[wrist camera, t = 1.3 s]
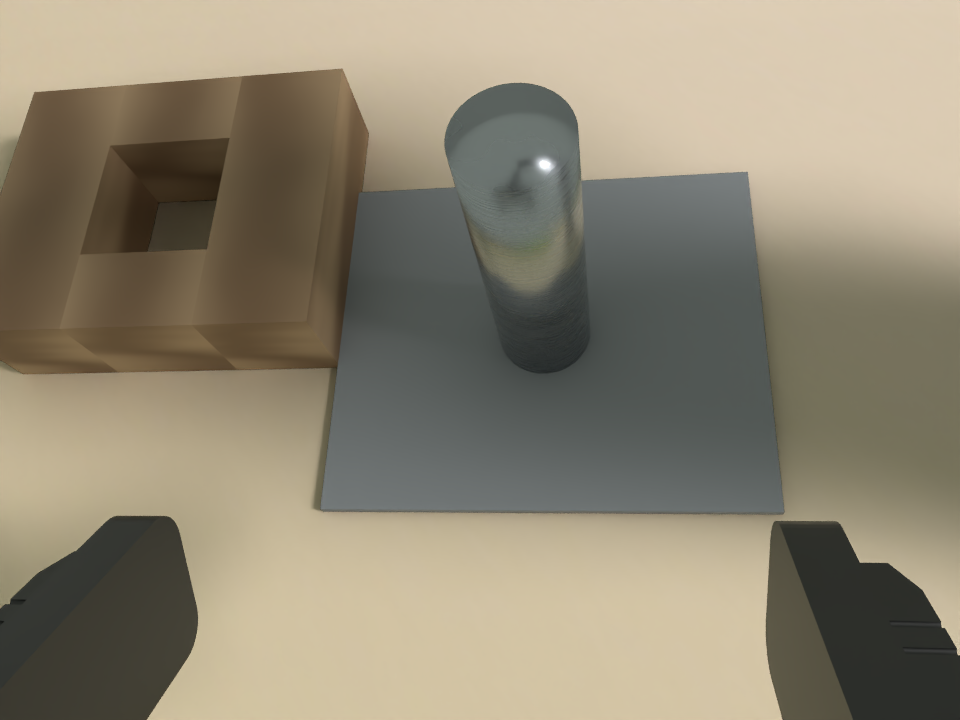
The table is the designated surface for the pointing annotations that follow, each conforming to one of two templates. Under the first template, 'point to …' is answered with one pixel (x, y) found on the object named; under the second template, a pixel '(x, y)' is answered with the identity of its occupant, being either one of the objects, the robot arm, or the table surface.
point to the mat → (572, 391)
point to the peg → (525, 219)
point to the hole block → (181, 273)
